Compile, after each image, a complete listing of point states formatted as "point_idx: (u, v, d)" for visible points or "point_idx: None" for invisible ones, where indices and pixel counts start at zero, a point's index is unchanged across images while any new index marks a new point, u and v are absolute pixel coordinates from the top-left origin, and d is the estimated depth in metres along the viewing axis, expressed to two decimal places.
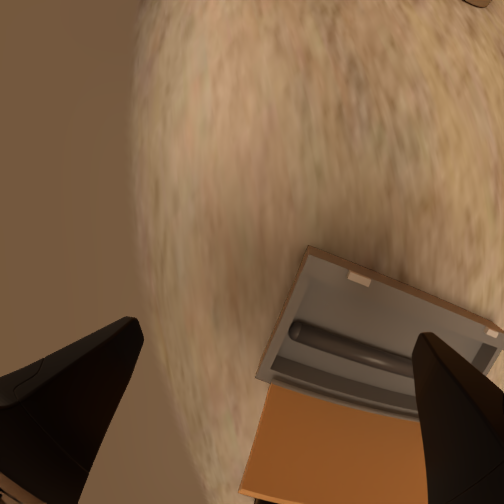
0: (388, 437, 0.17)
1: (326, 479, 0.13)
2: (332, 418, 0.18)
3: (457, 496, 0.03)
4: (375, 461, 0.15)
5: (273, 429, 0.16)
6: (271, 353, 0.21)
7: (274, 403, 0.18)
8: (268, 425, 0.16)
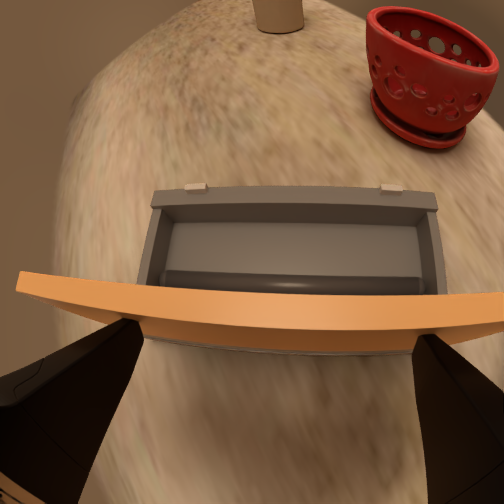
0: None
1: None
2: None
3: (457, 496, 0.03)
4: None
5: None
6: None
7: None
8: None
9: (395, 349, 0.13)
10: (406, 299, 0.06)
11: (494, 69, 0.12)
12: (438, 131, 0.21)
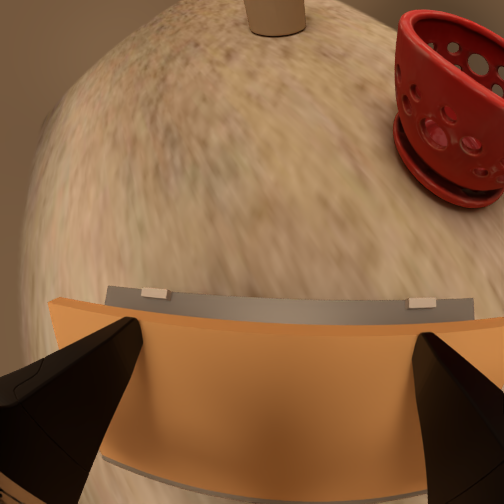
0: None
1: None
2: None
3: (458, 496, 0.03)
4: None
5: None
6: None
7: None
8: None
9: (392, 490, 0.09)
10: (379, 325, 0.08)
11: None
12: (480, 190, 0.15)
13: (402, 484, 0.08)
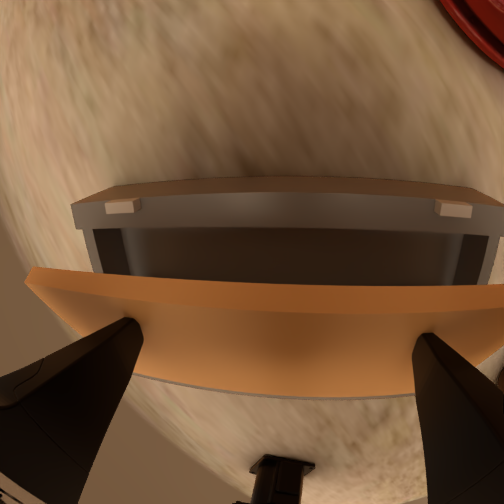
0: None
1: None
2: None
3: (458, 496, 0.03)
4: None
5: None
6: None
7: None
8: None
9: (393, 392, 0.12)
10: (398, 289, 0.07)
11: None
12: None
13: (403, 389, 0.12)
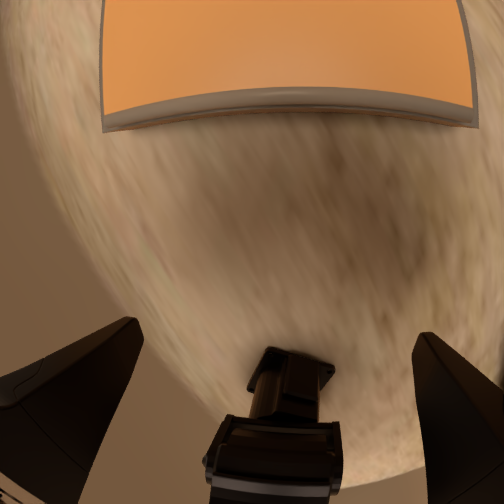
0: None
1: None
2: None
3: (458, 496, 0.03)
4: None
5: None
6: None
7: None
8: None
9: (414, 82, 0.10)
10: None
11: None
12: None
13: (421, 74, 0.09)
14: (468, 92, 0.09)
